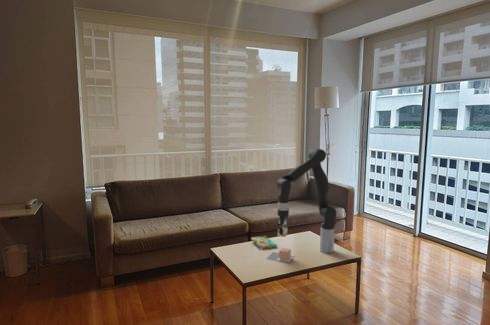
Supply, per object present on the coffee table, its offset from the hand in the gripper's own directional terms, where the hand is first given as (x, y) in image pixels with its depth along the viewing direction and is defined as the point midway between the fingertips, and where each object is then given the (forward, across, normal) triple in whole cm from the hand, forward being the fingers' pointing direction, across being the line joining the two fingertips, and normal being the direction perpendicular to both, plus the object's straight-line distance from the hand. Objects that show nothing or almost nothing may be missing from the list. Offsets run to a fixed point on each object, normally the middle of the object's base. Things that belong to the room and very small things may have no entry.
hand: (282, 233), depth 219 cm
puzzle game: (+18, +14, +20) cm, 31 cm away
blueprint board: (+17, -3, 0) cm, 18 cm away
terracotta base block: (+16, -3, -3) cm, 17 cm away
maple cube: (+1, 0, 0) cm, 1 cm away
